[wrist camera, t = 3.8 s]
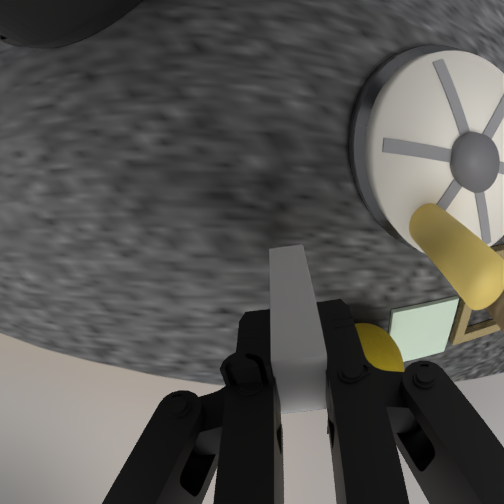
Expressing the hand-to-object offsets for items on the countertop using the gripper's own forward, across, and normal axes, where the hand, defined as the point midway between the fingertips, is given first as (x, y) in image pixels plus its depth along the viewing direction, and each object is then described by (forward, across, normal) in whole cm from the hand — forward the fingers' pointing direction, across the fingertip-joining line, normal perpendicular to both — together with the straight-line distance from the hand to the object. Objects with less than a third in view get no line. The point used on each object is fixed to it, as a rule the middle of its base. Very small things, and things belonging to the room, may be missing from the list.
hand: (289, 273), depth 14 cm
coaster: (+5, +10, -10) cm, 15 cm away
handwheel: (+3, +11, +4) cm, 12 cm away
